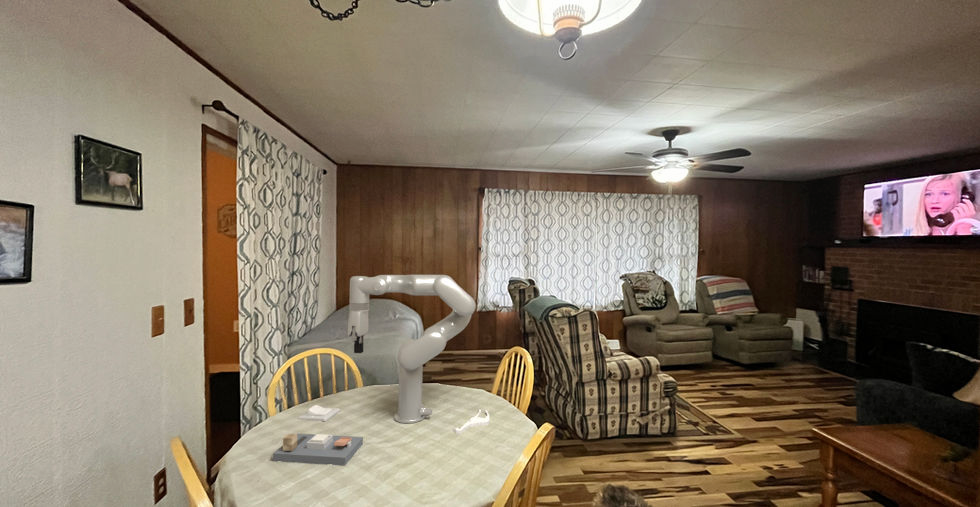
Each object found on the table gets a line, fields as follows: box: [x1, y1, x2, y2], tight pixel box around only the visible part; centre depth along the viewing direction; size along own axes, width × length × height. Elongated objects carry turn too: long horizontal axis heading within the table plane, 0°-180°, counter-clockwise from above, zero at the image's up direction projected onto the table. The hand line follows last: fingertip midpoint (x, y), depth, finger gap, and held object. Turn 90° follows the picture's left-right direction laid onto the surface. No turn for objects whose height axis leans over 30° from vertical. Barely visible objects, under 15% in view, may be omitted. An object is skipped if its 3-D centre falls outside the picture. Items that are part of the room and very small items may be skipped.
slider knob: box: [282, 433, 298, 451], centre depth 129 cm, size 3×3×4 cm
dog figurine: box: [452, 409, 491, 435], centre depth 157 cm, size 2×13×20 cm
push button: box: [311, 433, 330, 443], centre depth 132 cm, size 4×4×2 cm
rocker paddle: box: [334, 437, 352, 446], centre depth 132 cm, size 3×6×2 cm, turn 175°
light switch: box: [297, 404, 341, 422], centre depth 163 cm, size 11×4×13 cm
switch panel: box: [272, 433, 364, 466], centre depth 132 cm, size 24×14×4 cm, turn 85°
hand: (358, 352), depth 158 cm, fingers closed
